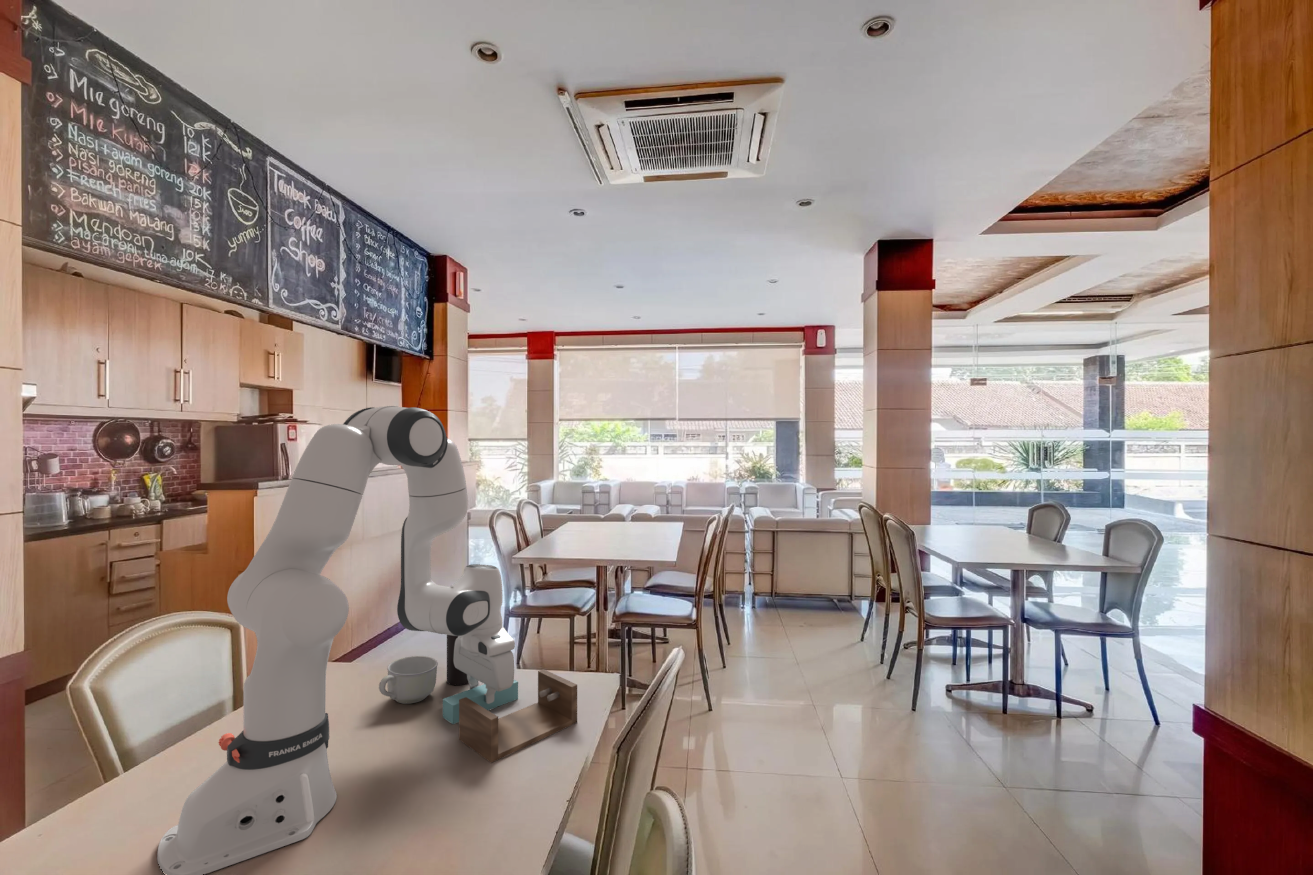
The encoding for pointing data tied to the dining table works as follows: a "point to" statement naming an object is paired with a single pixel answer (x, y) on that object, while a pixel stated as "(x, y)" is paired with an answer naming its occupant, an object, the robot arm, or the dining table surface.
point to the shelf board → (477, 700)
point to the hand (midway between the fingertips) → (482, 697)
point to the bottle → (453, 673)
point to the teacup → (410, 679)
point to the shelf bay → (519, 719)
